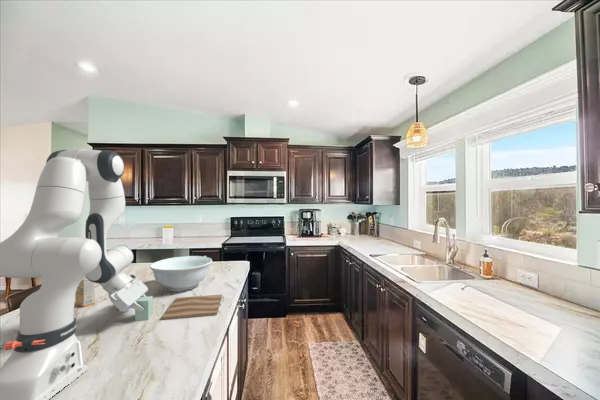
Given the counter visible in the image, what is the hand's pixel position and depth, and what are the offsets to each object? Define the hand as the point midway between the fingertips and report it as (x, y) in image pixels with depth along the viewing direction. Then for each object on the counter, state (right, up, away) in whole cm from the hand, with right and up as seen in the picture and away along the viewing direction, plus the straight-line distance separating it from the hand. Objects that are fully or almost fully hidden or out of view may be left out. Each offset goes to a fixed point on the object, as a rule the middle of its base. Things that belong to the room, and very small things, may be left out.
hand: (145, 307), depth 110 cm
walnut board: (+17, -4, +10) cm, 20 cm away
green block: (-1, -4, 0) cm, 4 cm away
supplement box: (-38, -5, +15) cm, 41 cm away
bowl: (-2, -5, +39) cm, 40 cm away
